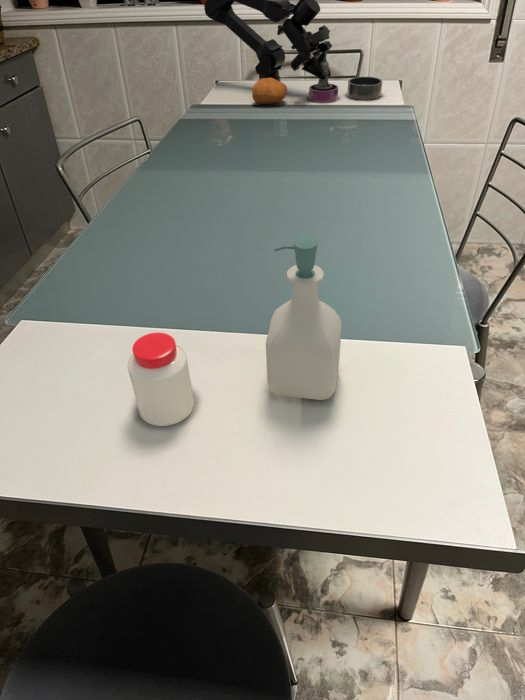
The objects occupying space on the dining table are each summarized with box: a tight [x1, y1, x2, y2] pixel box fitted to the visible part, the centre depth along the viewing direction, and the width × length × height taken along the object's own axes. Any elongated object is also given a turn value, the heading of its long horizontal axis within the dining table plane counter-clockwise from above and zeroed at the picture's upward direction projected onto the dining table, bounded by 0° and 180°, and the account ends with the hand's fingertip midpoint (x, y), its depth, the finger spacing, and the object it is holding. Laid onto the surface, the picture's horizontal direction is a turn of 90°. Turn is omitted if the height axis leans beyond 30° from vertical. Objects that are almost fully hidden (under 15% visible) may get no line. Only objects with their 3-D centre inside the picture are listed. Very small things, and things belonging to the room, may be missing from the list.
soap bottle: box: [265, 236, 343, 401], centre depth 73 cm, size 10×10×23 cm
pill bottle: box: [127, 332, 195, 427], centre depth 74 cm, size 8×8×11 cm
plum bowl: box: [308, 83, 339, 104], centre depth 184 cm, size 10×10×4 cm
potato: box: [251, 78, 288, 105], centre depth 181 cm, size 9×11×8 cm
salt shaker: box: [314, 58, 332, 91], centre depth 181 cm, size 6×6×12 cm
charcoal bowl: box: [346, 76, 383, 101], centre depth 185 cm, size 11×11×4 cm
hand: (327, 77), depth 180 cm, fingers closed on salt shaker, 3 cm apart
